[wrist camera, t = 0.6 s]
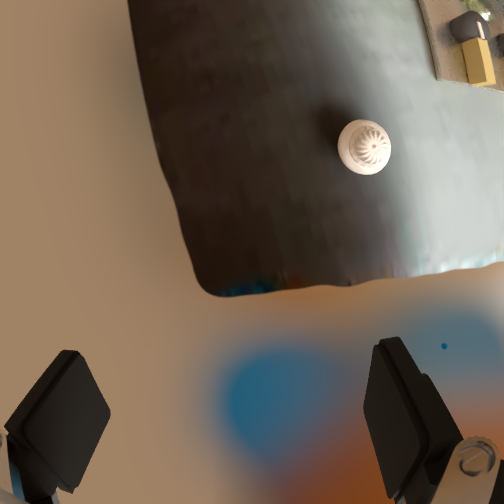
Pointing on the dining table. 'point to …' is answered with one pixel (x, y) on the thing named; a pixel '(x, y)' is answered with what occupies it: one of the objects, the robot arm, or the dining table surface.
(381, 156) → the white carved ornament
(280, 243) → the dining table surface
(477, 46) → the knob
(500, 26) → the base plate
